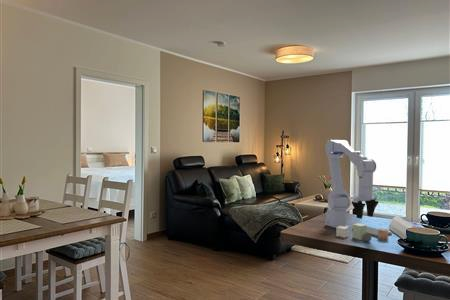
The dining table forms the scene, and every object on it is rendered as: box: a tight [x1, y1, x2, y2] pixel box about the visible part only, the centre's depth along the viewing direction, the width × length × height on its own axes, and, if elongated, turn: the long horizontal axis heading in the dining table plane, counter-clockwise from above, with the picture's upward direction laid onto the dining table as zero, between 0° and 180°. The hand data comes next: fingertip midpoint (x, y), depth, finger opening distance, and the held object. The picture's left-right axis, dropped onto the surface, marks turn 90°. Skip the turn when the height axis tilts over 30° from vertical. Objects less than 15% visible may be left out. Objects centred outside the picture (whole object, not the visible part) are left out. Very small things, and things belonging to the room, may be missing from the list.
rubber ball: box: [362, 233, 372, 243], centre depth 139 cm, size 4×4×4 cm
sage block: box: [352, 222, 368, 241], centre depth 144 cm, size 4×4×6 cm
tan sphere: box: [377, 228, 389, 241], centre depth 143 cm, size 4×4×4 cm
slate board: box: [351, 226, 393, 238], centre depth 154 cm, size 14×10×1 cm
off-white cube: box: [335, 226, 350, 239], centre depth 147 cm, size 4×4×4 cm
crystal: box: [388, 215, 417, 240], centre depth 150 cm, size 7×7×24 cm
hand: (364, 217), depth 144 cm, fingers open, 7 cm apart
